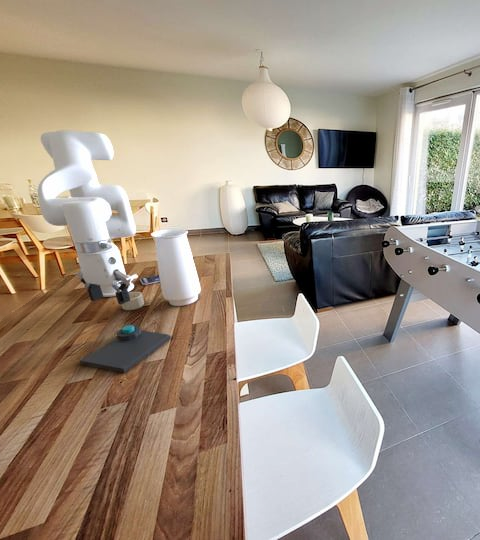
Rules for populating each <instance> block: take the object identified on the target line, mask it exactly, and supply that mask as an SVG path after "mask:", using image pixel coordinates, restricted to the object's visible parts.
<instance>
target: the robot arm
mask: <svg viewBox="0 0 480 540" xmlns="http://www.w3.org/2000/svg"><path fill="white" fill-rule="evenodd" d="M40 142H41V145H42V147H43V149H45V151H46V153H47V154H48V155H49V157H50V158H51V159H52V161H53V167H54V169H53V170H51V171H50V172H49V173H47V174H45V176H44V177H43V178H42V179H41V181H40V183H39V184H38V186H37V198H38V204H39V210H40V213H41V215H42V218H43V219H44V221H46V223H48V224H49V225H52V226H57V227H61V226H62V227H64V226H66V227H68V230H69V233H70V237H71V239H72V242H73V245H74V248H75V251H76V254H77V261H78V265H79V270H80V271H77V272H76V275H77V277H78V278H79V279H80V282H81V283H82V284H83V285H84V288H85V289H87V293H88V296H89V298H90V301H92V302H95V301H98V300H100V299H102V298H111V297H116V300H117V303H118V305H120V306H121V305H122V304H124V303H126V302H128V301H130V297H129V293H130V292H132V291H133V289H134V288H135V284H134V283H133V282H132V281H134V280H137V279H138V278H139V275H137V273H133V274H132V275H129V274H127V273H126V270H125V265H124V263H123V259H122V255H121V252H120V249H119V247H118V246H117V245H116V244H114V243H113V242H112V241H111V240H112V239H114V240H115V239H122V238H130V237H134V236H135V235H136V233H137V227H136V223H135V219H134V216H133V212H132V208H131V207H132V206H131V204H130V201H129V197H128V195H127V193H126V190H125V189H124V188H123V187H122V186H120V185H117V184H100V183H99V180H98V176H97V173H96V170H95V168H94V165H93V162H92V161H112V160H113V159H114V154H115V153H114V148H113V144H112V143H111V140H110V139H109V137H108V136H107V135H106V134H104V133H101V132H96V131H83V130H66V129H65V130H64V129H61V130H56V131H46V132H44V133H42V134H41V135H40ZM66 191H67V192H68V191H69V193H70V197H58V196H59V195H60V194H62V193H64V192H66ZM112 211H114V212H116V213H112Z"/></svg>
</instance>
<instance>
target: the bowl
mask: <svg viewBox="0 0 480 540" xmlns="http://www.w3.org/2000/svg"><path fill="white" fill-rule="evenodd" d="M128 293H129V297H130V301H128V302H126V303H124V304H122V305H120V306H121V309H123V310H125V311H133V310H134V311H135V310H139V309H140V308H142V307H143V306H144V305H145V299H144V297H143V293H142V292H140V291H129V292H128Z"/></svg>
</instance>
